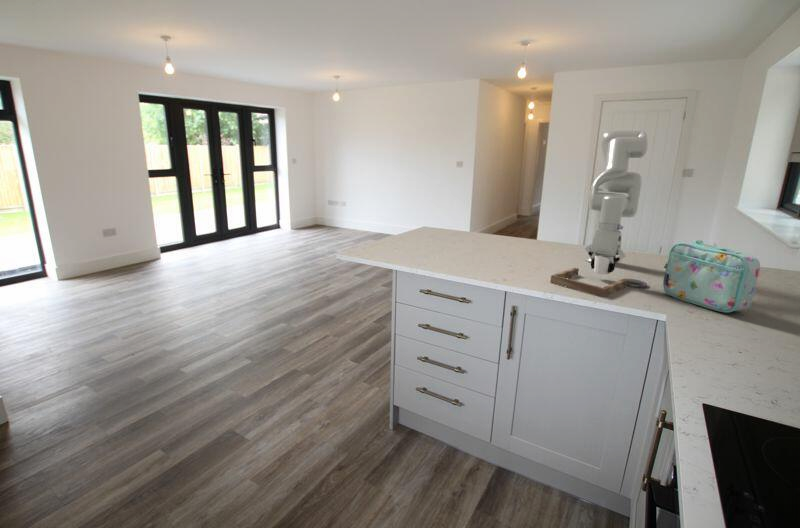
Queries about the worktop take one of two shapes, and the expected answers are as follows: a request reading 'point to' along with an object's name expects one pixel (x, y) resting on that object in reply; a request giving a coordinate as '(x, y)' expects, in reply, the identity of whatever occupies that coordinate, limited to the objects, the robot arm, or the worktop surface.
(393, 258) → the worktop surface
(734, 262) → the lunch box
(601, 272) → the white cup
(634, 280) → the dark grey round dish
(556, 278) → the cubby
